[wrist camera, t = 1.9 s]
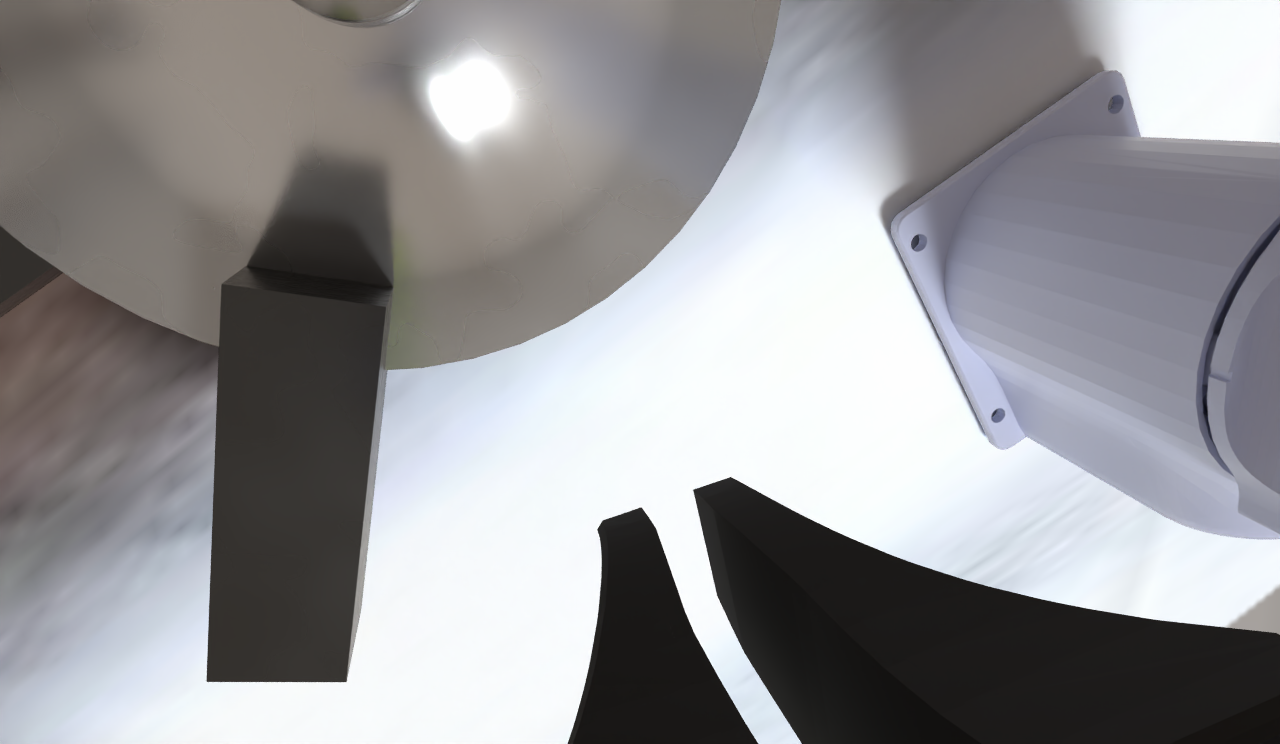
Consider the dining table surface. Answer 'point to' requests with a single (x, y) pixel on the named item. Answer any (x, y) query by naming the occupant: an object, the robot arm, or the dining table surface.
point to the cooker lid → (353, 223)
